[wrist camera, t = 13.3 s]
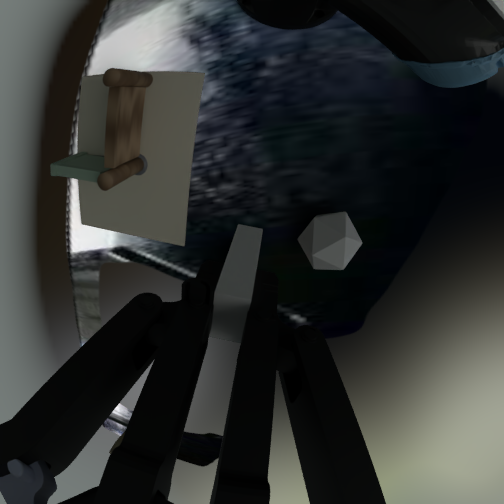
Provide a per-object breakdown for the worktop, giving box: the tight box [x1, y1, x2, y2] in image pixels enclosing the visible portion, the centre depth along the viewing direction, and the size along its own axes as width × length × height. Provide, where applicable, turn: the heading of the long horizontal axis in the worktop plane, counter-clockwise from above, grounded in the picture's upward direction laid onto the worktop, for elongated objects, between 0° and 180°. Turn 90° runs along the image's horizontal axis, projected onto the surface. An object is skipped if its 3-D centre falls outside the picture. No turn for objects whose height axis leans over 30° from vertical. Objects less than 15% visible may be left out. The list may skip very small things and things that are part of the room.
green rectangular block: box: [51, 152, 112, 183], centre depth 35 cm, size 10×2×8 cm, turn 77°
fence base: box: [97, 68, 153, 191], centre depth 32 cm, size 16×2×10 cm, turn 170°
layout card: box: [78, 72, 205, 246], centre depth 39 cm, size 28×22×1 cm
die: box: [297, 212, 362, 270], centre depth 39 cm, size 8×9×10 cm
